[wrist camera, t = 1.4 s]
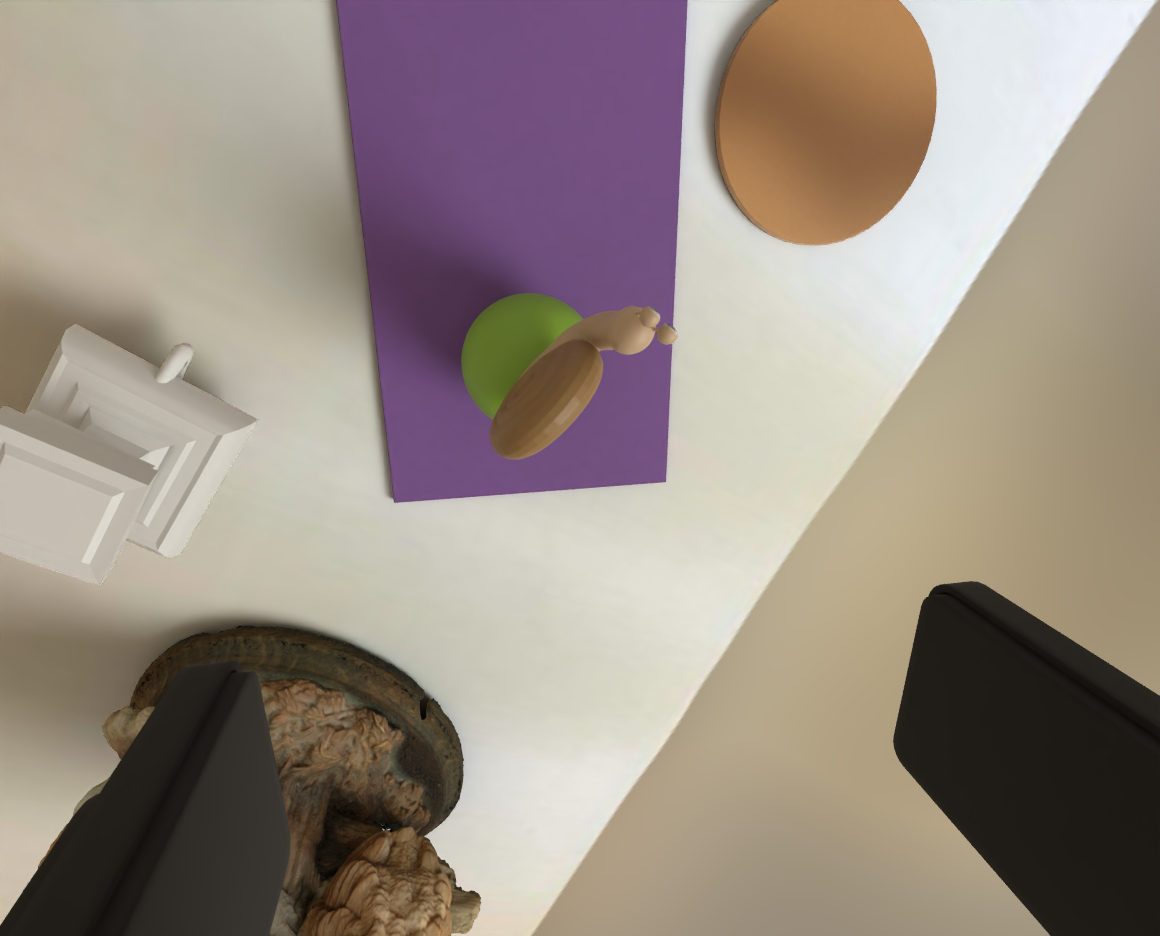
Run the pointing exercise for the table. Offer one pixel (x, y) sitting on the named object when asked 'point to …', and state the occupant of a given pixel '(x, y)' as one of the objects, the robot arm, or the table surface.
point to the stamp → (111, 458)
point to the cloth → (515, 216)
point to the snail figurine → (545, 364)
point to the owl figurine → (340, 781)
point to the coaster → (825, 116)
